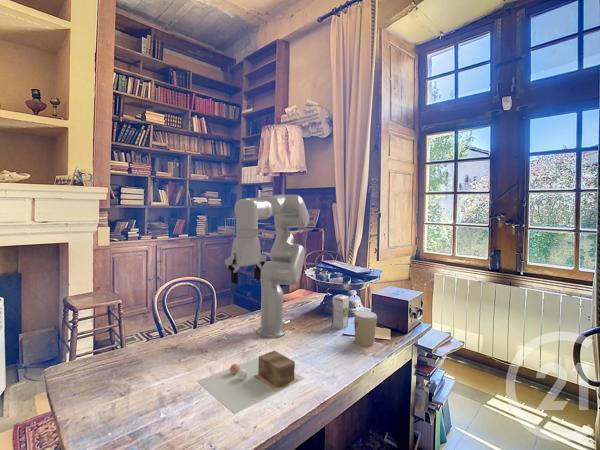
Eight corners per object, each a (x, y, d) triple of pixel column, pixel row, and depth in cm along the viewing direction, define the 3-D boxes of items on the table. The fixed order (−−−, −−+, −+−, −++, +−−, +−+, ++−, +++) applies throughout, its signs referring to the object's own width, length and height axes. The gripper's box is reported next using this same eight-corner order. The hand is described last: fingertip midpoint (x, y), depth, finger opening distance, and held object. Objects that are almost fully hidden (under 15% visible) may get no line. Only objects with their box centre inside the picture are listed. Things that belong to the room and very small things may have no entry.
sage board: (264, 358, 115) (264, 355, 115) (304, 382, 100) (305, 378, 100) (196, 384, 97) (196, 380, 97) (234, 418, 82) (234, 414, 82)
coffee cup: (356, 336, 138) (357, 309, 137) (378, 340, 134) (379, 312, 133) (350, 344, 129) (351, 315, 129) (373, 349, 125) (374, 319, 125)
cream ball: (243, 375, 101) (243, 366, 101) (249, 379, 99) (249, 369, 99) (235, 378, 99) (235, 369, 99) (240, 382, 97) (241, 373, 96)
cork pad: (275, 367, 106) (275, 366, 106) (298, 380, 99) (298, 379, 99) (253, 376, 100) (253, 375, 100) (276, 391, 92) (276, 390, 92)
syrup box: (337, 323, 153) (338, 293, 152) (348, 326, 149) (349, 296, 148) (331, 326, 148) (332, 296, 147) (342, 329, 144) (343, 298, 144)
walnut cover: (258, 374, 101) (258, 356, 101) (273, 368, 105) (274, 350, 105) (278, 388, 94) (278, 368, 93) (294, 380, 98) (294, 361, 98)
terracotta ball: (236, 370, 104) (236, 361, 104) (241, 373, 102) (241, 364, 102) (228, 373, 102) (228, 364, 102) (233, 377, 100) (233, 367, 100)
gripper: (260, 232, 122) (259, 276, 122) (220, 234, 110) (219, 282, 110) (272, 233, 116) (271, 279, 117) (231, 235, 104) (230, 286, 105)
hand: (246, 281), depth 114 cm, fingers open, 9 cm apart
